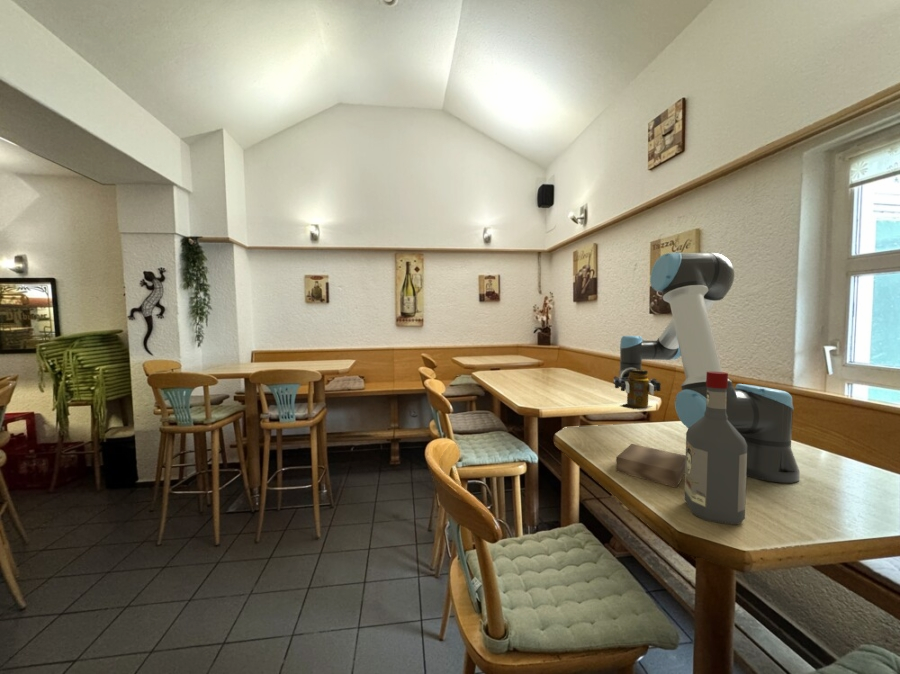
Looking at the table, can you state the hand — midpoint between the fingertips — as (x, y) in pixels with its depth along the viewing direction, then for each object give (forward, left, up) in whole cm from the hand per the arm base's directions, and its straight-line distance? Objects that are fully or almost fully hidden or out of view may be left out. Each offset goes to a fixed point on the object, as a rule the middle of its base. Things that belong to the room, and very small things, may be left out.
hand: (640, 389), depth 108 cm
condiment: (+2, -5, -7) cm, 8 cm away
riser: (-6, +12, -20) cm, 24 cm away
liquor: (-21, +27, -20) cm, 40 cm away
